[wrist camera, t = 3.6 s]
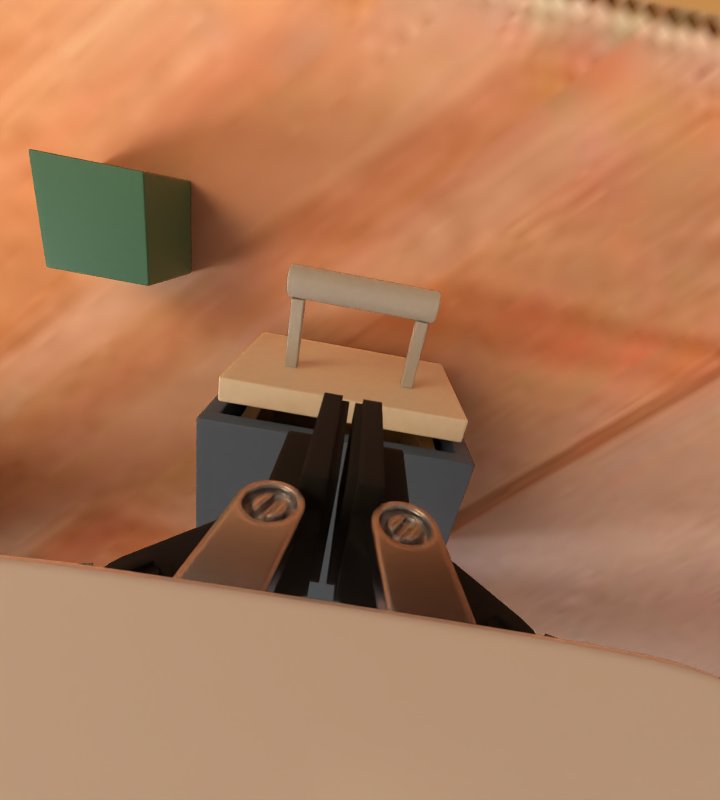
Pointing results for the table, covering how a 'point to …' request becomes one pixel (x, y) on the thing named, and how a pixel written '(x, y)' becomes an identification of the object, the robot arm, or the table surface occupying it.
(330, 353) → the drawer
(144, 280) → the block
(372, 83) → the table surface
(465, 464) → the cabinet
